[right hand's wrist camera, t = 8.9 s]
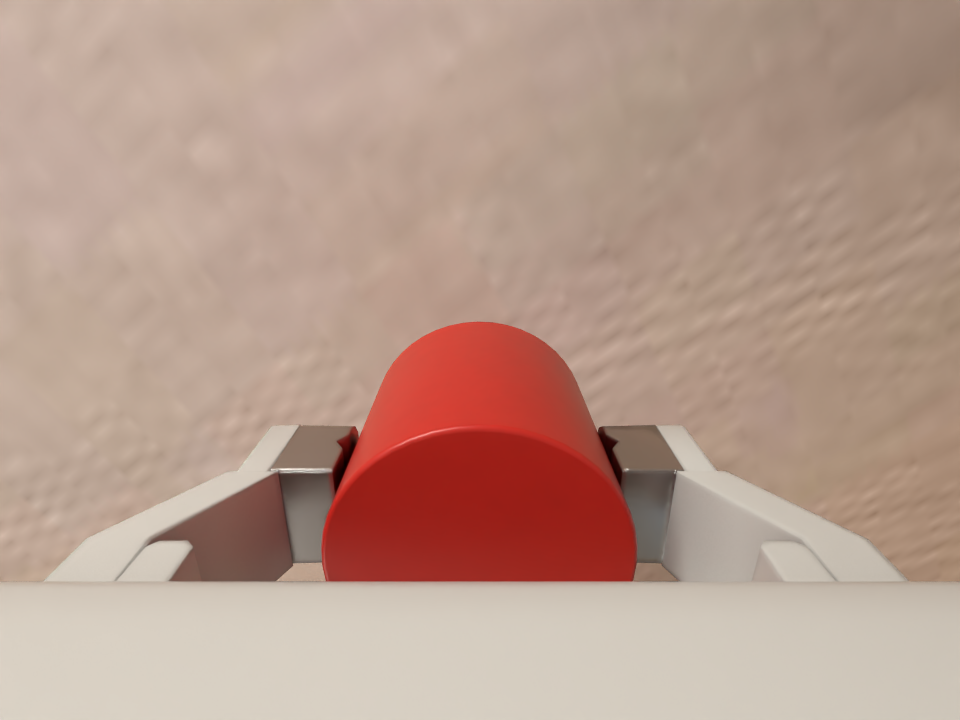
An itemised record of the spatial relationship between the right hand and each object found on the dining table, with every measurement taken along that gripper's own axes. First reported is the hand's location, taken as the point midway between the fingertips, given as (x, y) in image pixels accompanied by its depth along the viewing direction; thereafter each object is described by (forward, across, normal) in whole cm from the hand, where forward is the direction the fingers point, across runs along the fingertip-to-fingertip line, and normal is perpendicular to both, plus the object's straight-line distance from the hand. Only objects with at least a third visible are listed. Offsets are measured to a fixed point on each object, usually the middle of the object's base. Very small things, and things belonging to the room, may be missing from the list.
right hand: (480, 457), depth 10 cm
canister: (+2, 0, 0) cm, 2 cm away
